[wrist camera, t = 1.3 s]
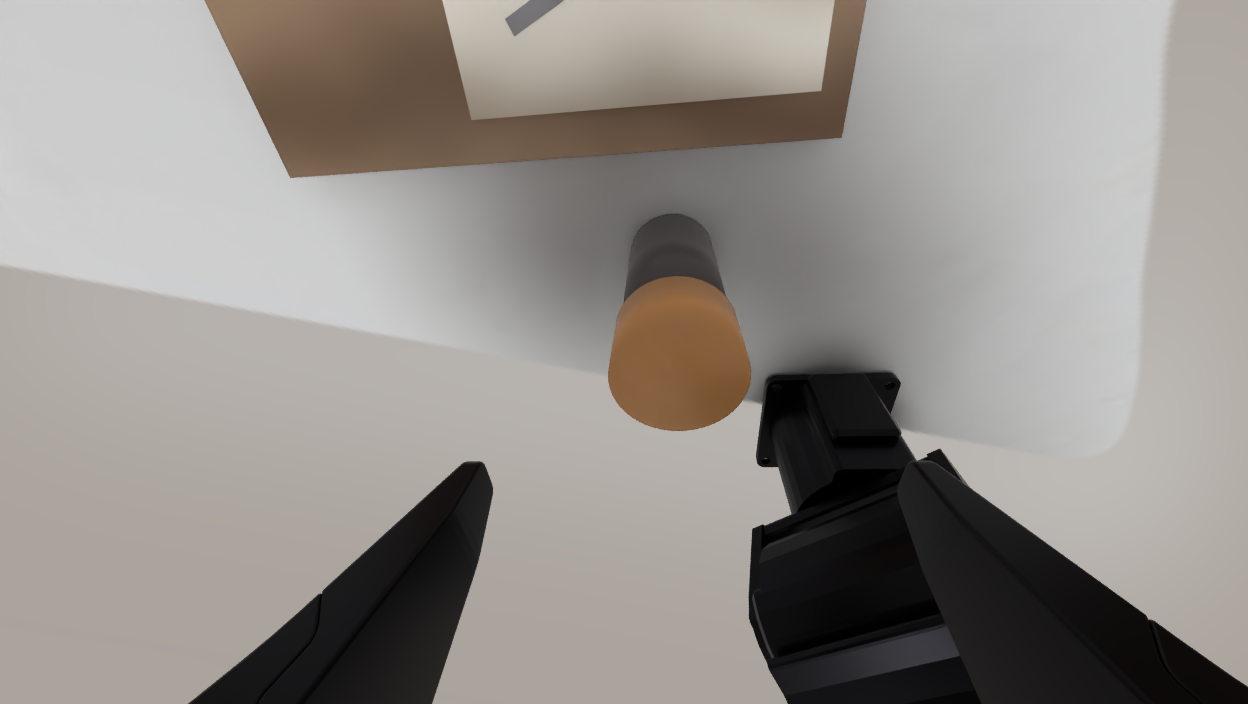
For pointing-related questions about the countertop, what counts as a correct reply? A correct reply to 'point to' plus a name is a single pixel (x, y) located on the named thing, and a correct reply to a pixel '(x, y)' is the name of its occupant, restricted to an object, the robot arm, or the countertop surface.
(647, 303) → the black and orange cylinder
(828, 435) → the robot arm
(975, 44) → the countertop surface
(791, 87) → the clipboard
